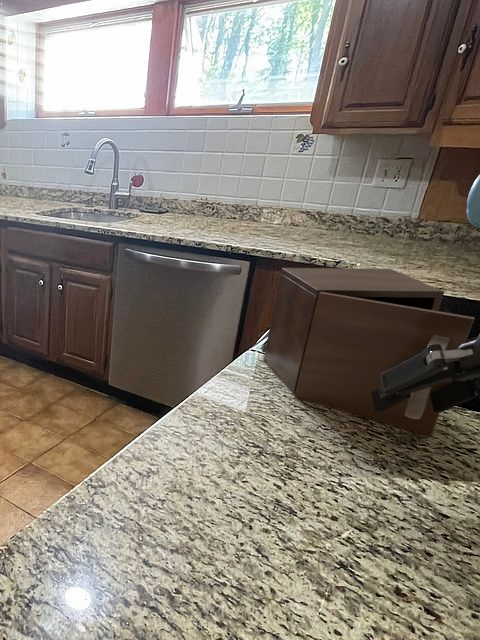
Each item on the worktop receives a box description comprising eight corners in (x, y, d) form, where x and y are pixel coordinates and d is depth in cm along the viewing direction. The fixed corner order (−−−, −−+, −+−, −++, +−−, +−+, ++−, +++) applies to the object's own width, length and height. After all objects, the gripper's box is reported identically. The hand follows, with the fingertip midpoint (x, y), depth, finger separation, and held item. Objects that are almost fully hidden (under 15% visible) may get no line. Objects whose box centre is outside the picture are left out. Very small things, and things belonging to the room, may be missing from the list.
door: (423, 455, 70) (468, 332, 63) (280, 411, 82) (305, 302, 75) (431, 434, 75) (474, 317, 68) (296, 394, 87) (320, 291, 79)
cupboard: (408, 398, 85) (444, 291, 78) (293, 394, 87) (317, 290, 80) (362, 363, 98) (390, 268, 91) (262, 360, 100) (281, 267, 93)
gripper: (451, 366, 50) (334, 427, 71) (684, 367, 48) (492, 430, 69) (430, 297, 53) (323, 376, 74) (650, 295, 51) (475, 377, 72)
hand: (405, 402), depth 72 cm, fingers open, 7 cm apart
